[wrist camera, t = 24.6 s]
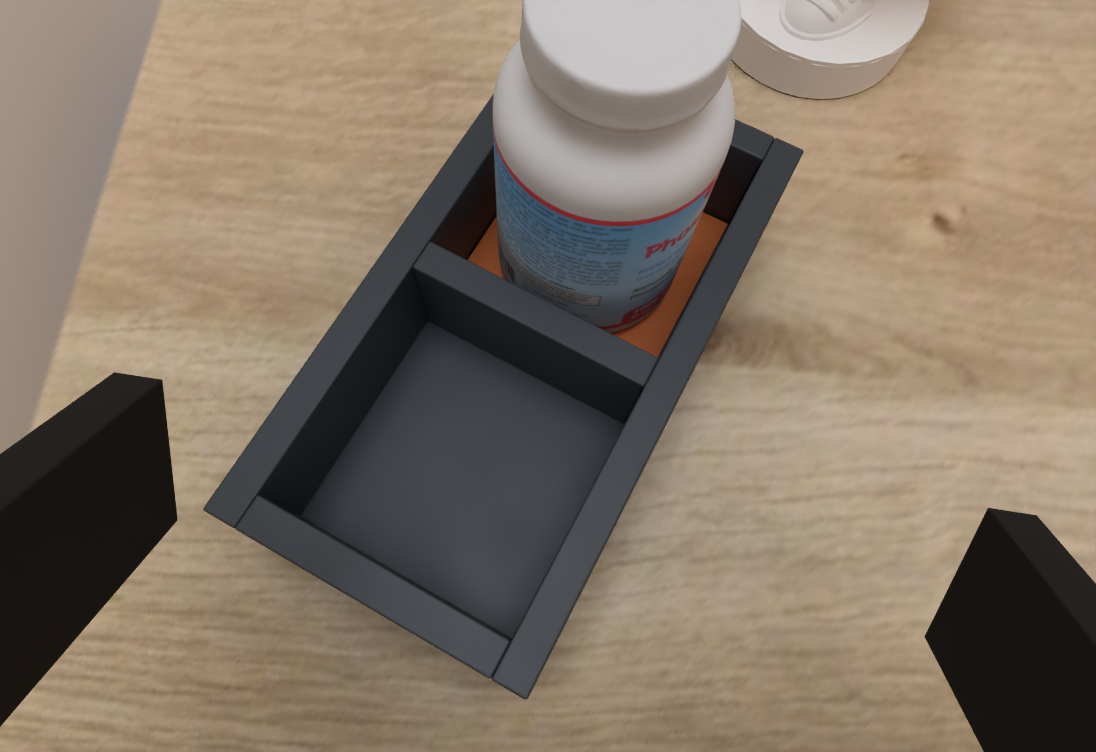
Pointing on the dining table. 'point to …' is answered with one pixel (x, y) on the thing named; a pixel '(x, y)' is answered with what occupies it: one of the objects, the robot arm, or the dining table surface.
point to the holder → (483, 419)
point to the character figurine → (824, 43)
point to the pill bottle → (610, 147)
